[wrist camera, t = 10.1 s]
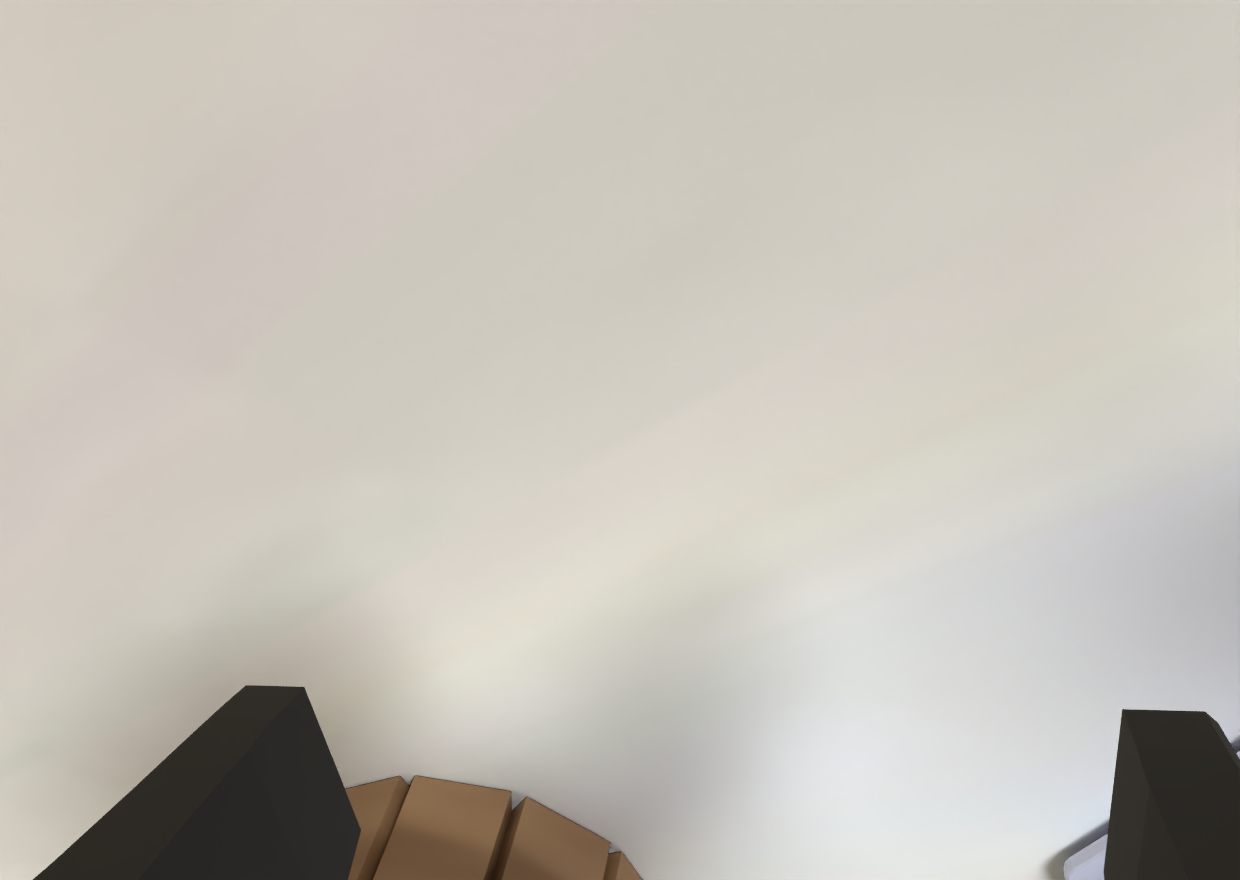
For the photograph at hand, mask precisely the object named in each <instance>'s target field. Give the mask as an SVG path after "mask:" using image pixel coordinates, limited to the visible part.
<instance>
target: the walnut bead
mask: <svg viewBox="0 0 1240 880" xmlns="http://www.w3.org/2000/svg"><path fill="white" fill-rule="evenodd" d="M345 791H346V793H347V796H348V798H349V801H350V803H351V806H352V808H353V811H354V813H355V816H356V818H357V821H358V823H359V826H360V828H361V833H360V836H359V840H358V844H357V848H356V851H355V855H354V859H353V863H352V867H351V870H350V874H349V878H348V880H643V879H642V878H641V877H640V875H639V874H638V873H637V871H636V870H635V869H634V867H633V866H632V865H631V863H630V862H629V861H628V859H627V858H626V857H625V855H624V854H623V853H622V852H618V853H613V854H608V853H609V849H610V844H611V843H610V842H609V841H607V840H605V839H603V838H601V837H599V836H598V835H596V834H594V833H592V832H590V831H588V830H587V829H585V828H583V827H581V826H579V825H577V824H576V823H574V822H572V821H570V820H568V819H566V818H565V817H563V816H561V815H559V814H557V813H555V812H554V811H552V810H550V809H548V808H546V807H544V806H543V805H541V804H539V803H537V802H535V801H533V800H532V799H530V798H528V797H526V798H525V799H524V800H523V801H522V802H521V803H520V804H519V805H518V806H517V807H516V808H515V809H514V810H513V811H512V800H511V791H505V790H499V789H493V788H487V787H481V786H475V785H469V784H463V783H457V782H450V781H444V780H438V779H432V778H426V777H420V776H414V779H413V781H412V784H411V786H410V787H409V786H408V785H407V783H406V782H405V781H404V780H403V779H402V778H401V776H398V777H393V778H389V779H385V780H381V781H377V782H373V783H369V784H365V785H361V786H356V787H352V788H348V789H345Z"/></svg>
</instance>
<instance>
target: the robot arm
mask: <svg viewBox="0 0 1240 880" xmlns="http://www.w3.org/2000/svg"><path fill="white" fill-rule="evenodd" d="M360 833H361V828H360V826H359V823H358V821H357V818H356V816H355V813H354V811H353V808H352V806H351V803H350V801H349V798H348V796H347V793H346V791H345V788H344V786H343V783H342V781H341V778H340V776H339V773H338V771H337V768H336V766H335V763H334V761H333V758H332V756H331V753H330V751H329V748H328V746H327V743H326V741H325V738H324V736H323V733H322V731H321V728H320V726H319V723H318V721H317V718H316V716H315V713H314V711H313V708H312V706H311V703H310V701H309V698H308V696H307V693H306V690H305V688H304V687H284V686H247V685H246V686H245V687H244V688H243V689H241V690H240V691H239V692H238V693H237V694H236V695H235V696H233V697H232V698H231V699H230V700H229V701H228V702H226V703H225V704H224V705H223V706H222V707H221V708H220V709H219V710H218V711H216V712H215V713H214V714H213V715H212V716H211V717H210V718H209V719H208V720H207V721H205V722H204V723H203V724H202V725H201V726H200V727H199V728H198V729H197V730H196V731H195V732H194V733H193V734H191V735H190V736H189V737H188V738H187V739H186V740H185V741H184V742H183V743H182V744H181V745H180V746H179V747H177V748H176V749H175V750H174V751H173V752H172V753H171V754H170V755H169V756H168V757H167V758H166V759H165V760H164V761H162V762H161V763H160V764H159V765H158V766H157V767H156V768H155V769H154V770H153V771H152V772H151V773H150V774H149V775H148V776H146V777H145V778H144V779H143V780H142V781H141V782H140V783H139V784H138V785H137V786H136V787H135V788H134V789H133V790H131V791H130V792H129V793H128V794H127V795H126V796H125V797H124V798H123V799H122V800H121V801H119V802H118V803H117V804H116V805H115V806H114V807H113V808H112V809H111V810H110V811H109V812H107V813H106V814H105V815H104V816H103V817H102V818H101V819H100V820H99V821H98V822H97V823H95V824H94V825H93V826H92V827H91V828H90V829H89V830H88V831H87V832H86V833H84V834H83V835H82V836H81V837H80V838H79V839H78V840H77V841H76V842H75V843H74V844H72V845H71V846H70V847H69V848H68V849H67V850H66V851H65V852H64V853H63V854H62V855H60V856H59V857H58V858H57V859H56V860H55V861H54V862H53V863H52V864H50V865H49V866H48V867H47V868H46V869H45V870H44V871H42V872H41V873H40V874H39V875H38V876H37V877H35V878H34V879H33V880H348V878H349V874H350V870H351V867H352V863H353V859H354V855H355V851H356V848H357V844H358V840H359V836H360ZM1063 871H1064V877H1065V880H1240V751H1239V752H1237V753H1236V752H1235V751H1234V749H1233V747H1232V746H1231V744H1230V742H1229V741H1228V739H1227V737H1226V736H1225V734H1224V732H1223V731H1222V729H1221V727H1220V726H1219V724H1218V723H1217V722H1216V721H1215V720H1214V719H1213V718H1212V717H1211V716H1209V715H1208V714H1207V713H1206V712H1200V711H1163V710H1126V709H1122V718H1121V726H1120V735H1119V743H1118V752H1117V760H1116V769H1115V777H1114V786H1113V794H1112V803H1111V811H1110V820H1109V828H1108V833H1107V834H1106V835H1104V836H1103V837H1101V838H1099V839H1098V840H1096V841H1095V842H1093V843H1091V844H1090V845H1088V846H1087V847H1085V848H1083V849H1082V850H1080V851H1079V852H1077V853H1075V854H1074V855H1072V856H1071V857H1069V858H1068V859H1067V860H1066V861H1065V863H1064V867H1063Z"/></svg>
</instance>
